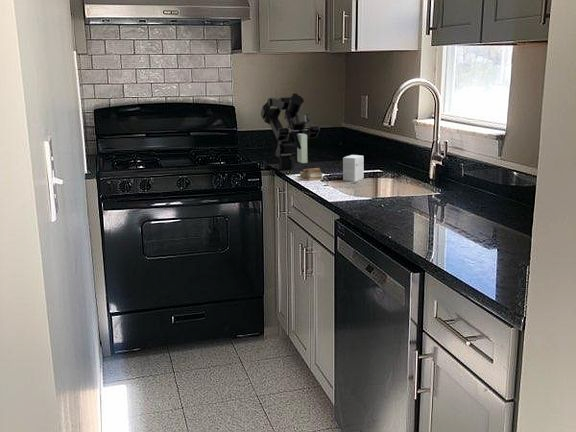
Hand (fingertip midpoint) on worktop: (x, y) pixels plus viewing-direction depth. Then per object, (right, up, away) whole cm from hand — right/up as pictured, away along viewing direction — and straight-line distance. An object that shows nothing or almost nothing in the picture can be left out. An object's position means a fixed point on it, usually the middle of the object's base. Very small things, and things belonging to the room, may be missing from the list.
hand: (303, 148), depth 276 cm
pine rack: (+3, -14, -3) cm, 14 cm away
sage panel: (0, -6, +3) cm, 6 cm away
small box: (+20, -15, -9) cm, 27 cm away
